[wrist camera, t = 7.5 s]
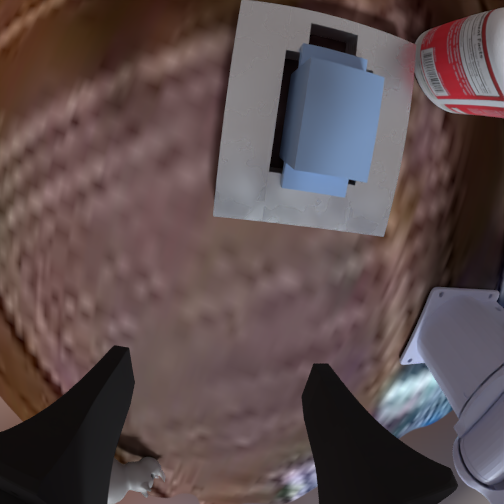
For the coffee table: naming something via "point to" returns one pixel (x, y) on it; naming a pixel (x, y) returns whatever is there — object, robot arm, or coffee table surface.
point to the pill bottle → (464, 64)
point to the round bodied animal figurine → (133, 477)
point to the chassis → (265, 113)
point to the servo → (329, 122)
